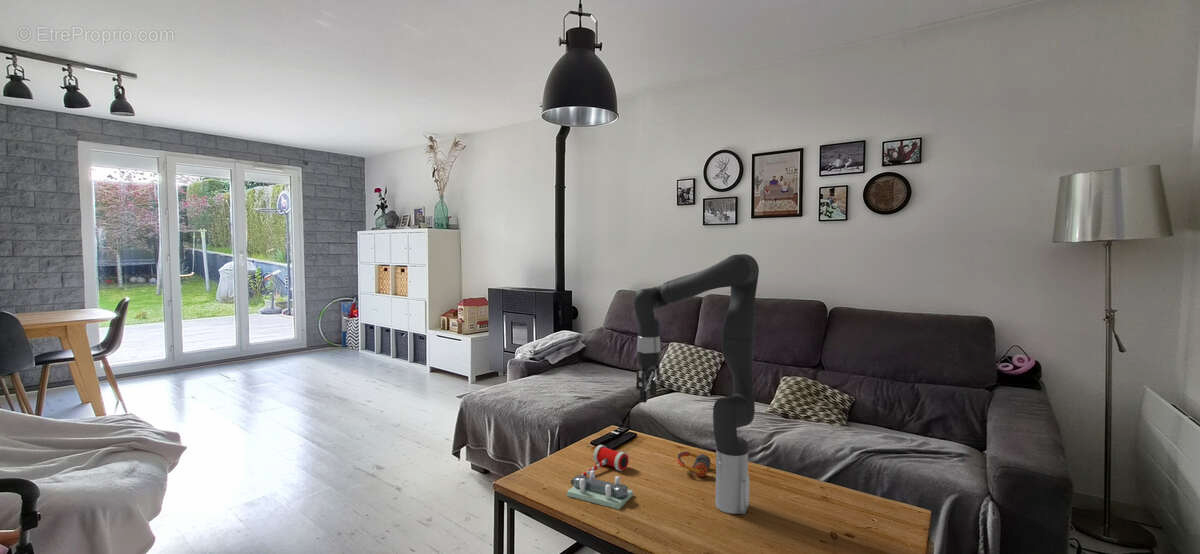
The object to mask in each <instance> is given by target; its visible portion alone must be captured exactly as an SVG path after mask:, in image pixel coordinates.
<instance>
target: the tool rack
mask: <svg viewBox="0 0 1200 554" xmlns="http://www.w3.org/2000/svg"><path fill="white" fill-rule="evenodd" d="M595 471H596V470H595ZM595 471H593V470H591V471H590V474H589V478H593V479H596V473H595ZM614 484H621V476H619V475H616V476H614ZM633 494H634V490H632V489H629V488H628V497H627V498H625V499H616V498H614V497H613V496H611V485H606V495H605V494H601V493H596V492H592V491H588V490H585V479H583V478H581V479H580V489H576V488H574V485H572V487H571V488H569V489H568V490H567V491H566V496H567V497H569V498H573V499H577V500H582V501H584V502H589V503H593V504H596V505H601V506H604V507H608V508H612V509H616V510H621V508H622V507H623V506H624V505H625V504H626V503H627V502H628V501H629V500H630V499H631V498H632V497H633Z"/></svg>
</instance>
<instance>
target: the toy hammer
mask: <svg viewBox="0 0 1200 554" xmlns="http://www.w3.org/2000/svg"><path fill="white" fill-rule="evenodd" d="M592 455H593V457H592V458H593V461H594V463H596V465H594V466H592V467H591V468H589V469H587V470H586V471H585V472H583V473H582V474H581V475H584V476H587V477H588V476H590V471H591V470H593V471H597V470H598V469H599V468H601V467H602V466H604V465H607V466H609V467H612V468H615V470H616V471H619V472H623V471H625V470H626V469H627V467H628V465H629V463H630V462H629V454H628V453H627V452H625V451H620V452H619V451H616V450H613V449H612V448H611V449H610V448H607V446H606V445H603V444H599V445H597V446H596V447H595V448H594V451H593V454H592ZM570 484H571V485H572V486H574V478H572V479H571V480H570Z"/></svg>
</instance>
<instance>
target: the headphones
mask: <svg viewBox="0 0 1200 554" xmlns="http://www.w3.org/2000/svg"><path fill="white" fill-rule="evenodd" d="M683 457H692V458H695V462H694V463H693V464H692V467H691V466H689V465H688V464H685V462H683V460H682V459H681V458H683ZM676 461H677V464H678V465H679V466H680V467H681V468H684V469H686V470H689V471H690V472H693V474H695V475H696V476H697V477H700V478H703V477H706V476H707V474H711V473H716V470H715V471H714V470H713V471H709V470H710V469H709V468H710V467H711V465H712V466H713V467H714V469H716V465H714V463H712V462H711V459H710V457H709V456H708V455H705V454H695V453H692V452H690V451H682V452H679V454H678V455H677V458H676Z"/></svg>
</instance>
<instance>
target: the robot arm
mask: <svg viewBox="0 0 1200 554" xmlns="http://www.w3.org/2000/svg"><path fill="white" fill-rule="evenodd" d="M759 267H760V266H759V264H758V262H757V260H756V259H755V258H754V257H753V256H752V255H749V254H745V253H743V254H742V253H741V254H731V255H729V256H728V257H726V258H725V259H723V260H721V261H719V262H718V263H716V264H714V265H711V266H710V267H708V268H705V269H703V270H700V271H697V272H694V273H690V274H687V275H683V276H680V277H676V278H674V279H671V280H668V281H665V282H664V283H662V284H661V285H658V286H655V287H649V288H648V287H647V288H642V289H639V290H638V291H637V292H636V293H635V295H634V298H633V307H634V313H635V316H636V321H637V341H636V363H637V365H639V366H641V368H640V370H637V371H636V387H635V388H636V390H638V391H639V402H640V403H643V404H646V403H647V402H648V386H649V395H650V396H651V397H652V396H653V397H656V396H657V394H658V393H657V392H658V386H657V385H658V383H659V382H660V381H661V378H660V377H661V376H660V375H661V373H660V368H661V367H660V365H661V339H660V326H661V325H660V320H659V319H658V318H657V317H655V312H654V310H656V309H660V308H663V307H665V306H667V305H670V304H674V303H679V302H682V301H684V300H688V299H690V298H693V297H696V296H698V295H700V294H703V293H705V292H708V291H711V290H715V289H721V288H729V287H730V301H729V306H728V309H727V313H726V314H725V315H726V316H725V318H724V322H723V326H722V332H721V354H722V357H723V359H724V360H725V363H726V366H727V368H728V369H729V370H730V371H729V372H730V373H731V376H732V383H733V384H732V386H733V388H732V395H730V396H729V395H727V396H724V397H720V398H718V399H717V400H715V402H714V404H713V408H712V423H713V424H712V425H713V426H712V427H713V437H714V441H715V450H716V451H715V467H716V468H715V471H716V472H715V500H714V501H715V507H716V509H718V510H719V511H721V512H722V513H727V514H732V515H737V514H738V515H739V514H741V515H746V513H747V511H748V508H749V506H750V474H749V443H748V441H747V439H745V438H743V437H741V436H738V430H737V429H738V428H742V427H747V426H748V425H750V424H752V423H753V420H754V419H755V412H756V411H755V409H756V407H755V391H754V390H755V389H754V388H755V387H754V356H755V355H754V354H755V334H756V333H755V326H756V325H755V321H756V320H755V319H756V317H755V316H756V315H755V313H756V307H755V306H756V296H757V295H756V293H757V288H758V280H759V273H760V270H759Z"/></svg>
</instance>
